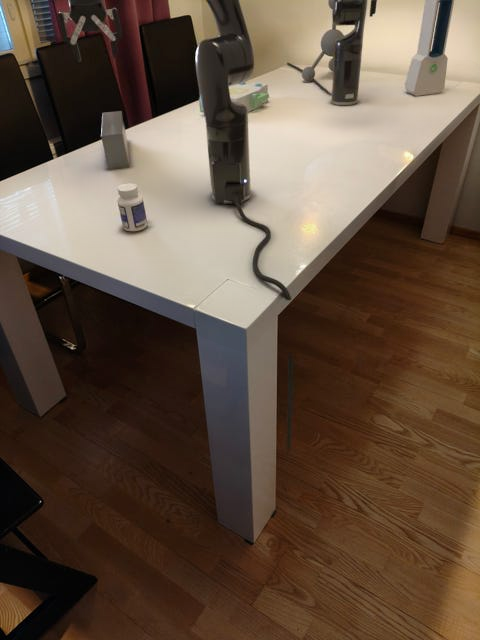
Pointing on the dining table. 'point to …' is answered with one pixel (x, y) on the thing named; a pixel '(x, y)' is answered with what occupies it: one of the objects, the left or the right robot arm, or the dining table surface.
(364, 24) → the right robot arm
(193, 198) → the dining table surface
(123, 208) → the pill bottle
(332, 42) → the molecular model
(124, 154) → the bar
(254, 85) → the decorative block
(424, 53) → the electronic device
